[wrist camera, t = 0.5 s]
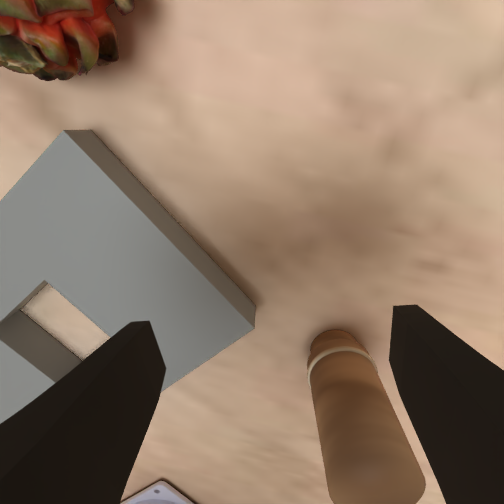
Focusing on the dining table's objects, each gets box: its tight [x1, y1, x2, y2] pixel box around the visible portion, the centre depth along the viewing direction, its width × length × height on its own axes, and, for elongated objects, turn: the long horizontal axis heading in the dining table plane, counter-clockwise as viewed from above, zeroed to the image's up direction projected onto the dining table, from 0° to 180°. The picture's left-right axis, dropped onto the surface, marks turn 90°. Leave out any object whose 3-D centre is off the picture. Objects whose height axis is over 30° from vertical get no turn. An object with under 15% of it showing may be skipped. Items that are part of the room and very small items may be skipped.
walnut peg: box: [307, 330, 426, 504], centre depth 18 cm, size 4×4×9 cm
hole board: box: [0, 130, 256, 424], centre depth 20 cm, size 20×14×2 cm
